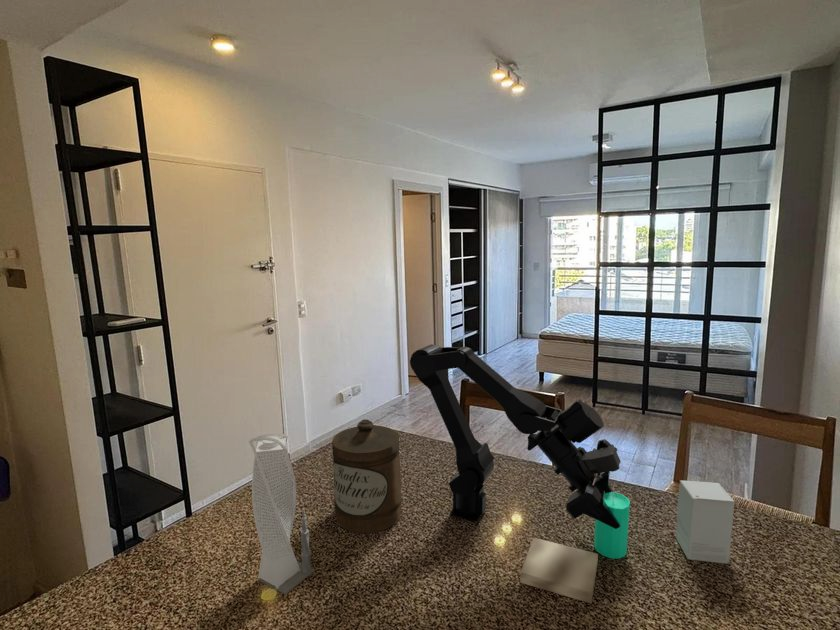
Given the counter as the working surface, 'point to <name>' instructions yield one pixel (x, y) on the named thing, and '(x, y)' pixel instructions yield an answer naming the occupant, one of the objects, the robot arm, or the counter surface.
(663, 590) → the counter surface
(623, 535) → the candle
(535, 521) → the counter surface
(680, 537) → the supplement box
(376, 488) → the wooden container
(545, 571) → the beige square slab
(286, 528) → the skyscraper
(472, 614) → the counter surface
